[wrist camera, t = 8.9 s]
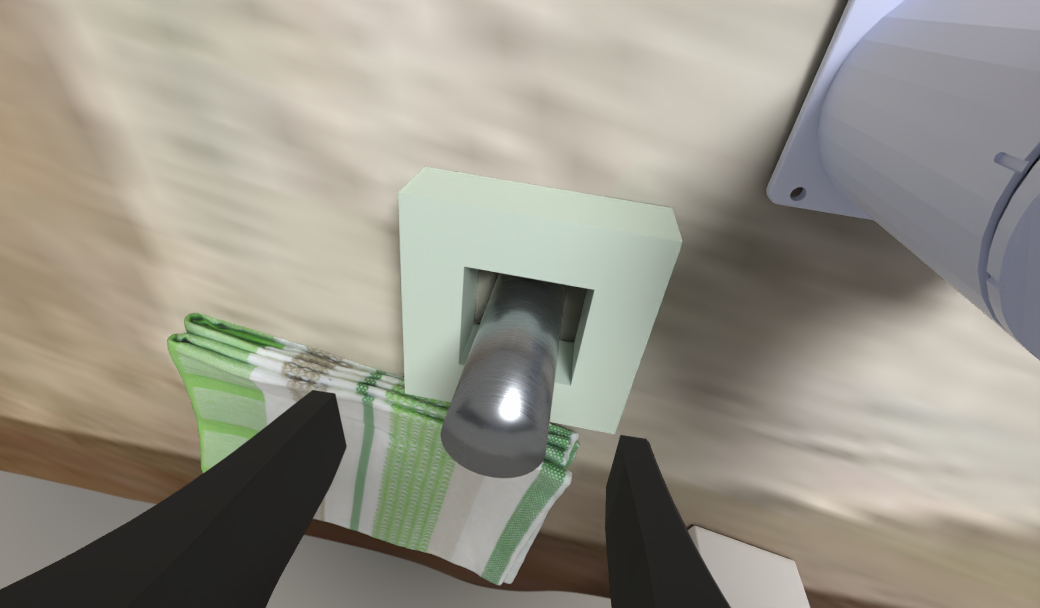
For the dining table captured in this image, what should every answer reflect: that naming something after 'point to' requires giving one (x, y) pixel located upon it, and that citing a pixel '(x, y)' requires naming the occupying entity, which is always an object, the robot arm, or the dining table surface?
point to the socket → (537, 255)
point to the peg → (508, 381)
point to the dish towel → (370, 447)
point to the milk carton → (749, 572)
